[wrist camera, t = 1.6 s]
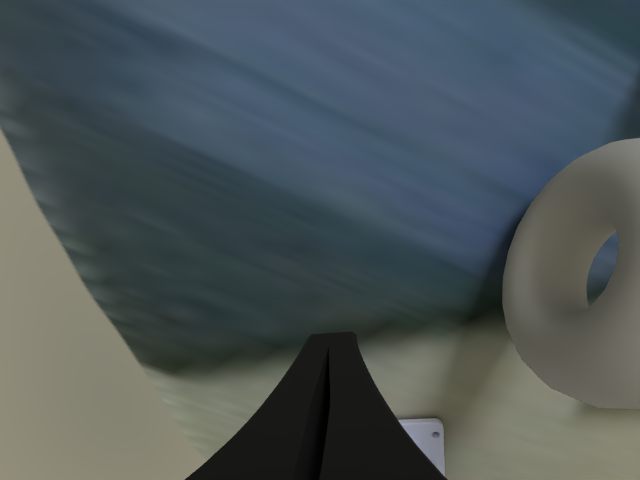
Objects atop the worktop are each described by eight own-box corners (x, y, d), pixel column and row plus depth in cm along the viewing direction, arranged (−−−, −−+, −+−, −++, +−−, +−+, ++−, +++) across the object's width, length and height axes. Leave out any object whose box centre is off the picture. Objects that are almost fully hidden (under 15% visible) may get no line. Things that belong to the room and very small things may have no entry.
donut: (548, 120, 17) (804, 133, 7) (619, 139, 17) (966, 176, 7) (466, 302, 20) (568, 470, 11) (525, 317, 20) (679, 498, 11)
